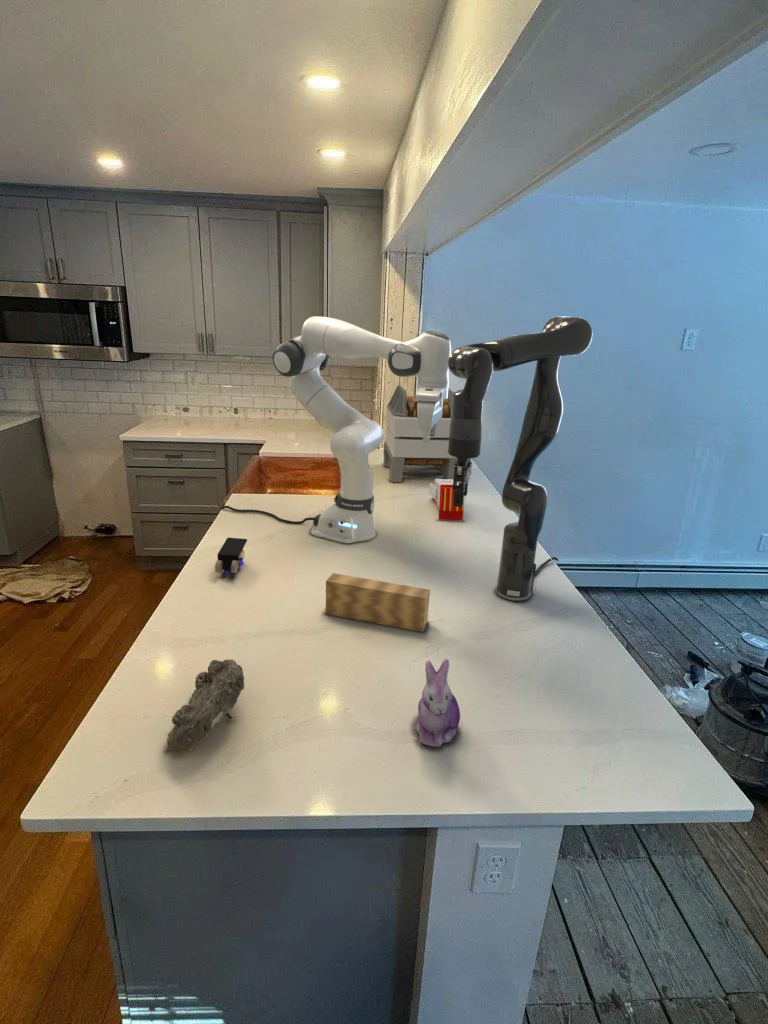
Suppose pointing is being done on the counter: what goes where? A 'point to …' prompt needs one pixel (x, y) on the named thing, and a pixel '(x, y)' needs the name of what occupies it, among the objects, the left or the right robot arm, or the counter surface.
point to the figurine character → (230, 556)
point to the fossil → (206, 705)
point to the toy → (446, 500)
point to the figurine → (437, 708)
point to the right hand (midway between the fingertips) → (460, 500)
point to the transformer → (415, 437)
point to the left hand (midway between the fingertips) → (429, 439)
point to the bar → (377, 601)
